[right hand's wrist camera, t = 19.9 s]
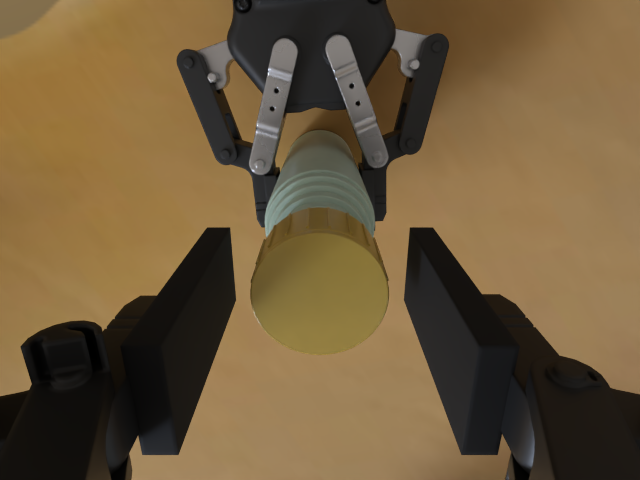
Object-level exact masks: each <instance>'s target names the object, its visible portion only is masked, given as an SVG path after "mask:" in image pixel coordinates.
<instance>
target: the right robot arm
mask: <svg viewBox="0 0 640 480" xmlns="http://www.w3.org/2000/svg"><path fill="white" fill-rule="evenodd" d="M235 301H236V294H235V282H234V270H233V258H232V245H231V233H230V228H207V229H206V230H205V231H204V233H203V234H202V235H201V237H200V238H199V239H198V241H197V242H196V243H195V245H194V246H193V248H192V249H191V250H190V252H189V253H188V254H187V256H186V257H185V258H184V260H183V261H182V263H181V264H180V265H179V267H178V268H177V269H176V271H175V272H174V273H173V275H172V276H171V277H170V279H169V280H168V282H167V283H166V284H165V286H164V287H163V288H162V290H161V291H160V292H159V294H158V295H157V296H139V297H138V298H136V299H134V300H133V301H131V302H130V303H128V304H126V305H125V306H124V307H123V308H122V309H121V310H120V312H119V313H118V314H117V315H116V316H115V319H113V320H112V321H111V322H110V323H109V325H108V326H107V329H104V331H103V332H102V328H101V327H100V326H99V325H98V324H96V323H94V322H89V321H70V322H65V323H61V324H57V325H54V326H51V327H49V328H46V329H43V330H41V331H39V332H38V333H36V334H34V335H33V336H31V337H30V338H28V339H27V340H26V341H25V342H24V343H23V345H22V346H21V350H22V353H23V356H24V360H25V363H26V366H27V369H28V373H29V376H30V379H31V383H32V385H31V387H30V390H28V391H24V392H19V393H15V394H10V395H5V396H0V480H131V477H132V466H131V460H130V455H129V452H130V450H131V448H132V446H133V444H134V442H135V440H136V438H137V436H139V441H140V446H141V450H142V455H179V452H180V449H181V447H182V444H183V441H184V438H185V436H186V433H187V430H188V428H189V425H190V422H191V420H192V417H193V414H194V412H195V409H196V406H197V403H198V401H199V398H200V395H201V393H202V390H203V387H204V385H205V382H206V379H207V377H208V374H209V371H210V369H211V366H212V363H213V360H214V358H215V355H216V352H217V350H218V347H219V344H220V342H221V339H222V336H223V334H224V331H225V328H226V326H227V323H228V320H229V317H230V315H231V312H232V309H233V307H234V304H235ZM404 301H405V304H406V307H407V309H408V312H409V315H410V317H411V320H412V323H413V325H414V328H415V331H416V334H417V336H418V339H419V342H420V344H421V347H422V350H423V352H424V355H425V358H426V360H427V363H428V366H429V369H430V371H431V374H432V377H433V379H434V382H435V385H436V387H437V390H438V393H439V395H440V398H441V401H442V403H443V406H444V409H445V412H446V414H447V417H448V420H449V422H450V425H451V428H452V430H453V433H454V436H455V438H456V441H457V444H458V447H459V449H460V452H461V455H498V450H499V446H500V441H501V436H502V434H503V436H504V438H505V440H506V442H507V444H508V446H509V448H510V450H511V455H510V460H509V464H508V469H507V473H506V478H505V480H640V394H635V393H630V392H625V391H620V390H616V389H612V388H610V387H609V385H608V383H607V382H606V380H605V379H604V378H603V376H602V375H601V374H600V373H598V372H597V371H595V370H594V369H593V368H591V367H590V366H588V365H586V364H584V363H581V362H579V361H577V360H574V359H571V358H567V357H563V356H559V355H558V353H557V352H556V351H555V350H554V349H553V347H552V346H551V345H550V344H549V343H548V342H547V340H546V339H545V338H544V337H543V336H542V335H541V333H540V332H539V331H538V330H537V329H536V327H533V324H532V323H531V322H530V320H529V319H528V318H525V315H524V313H523V312H522V311H521V310H520V309H519V307H518V306H517V305H516V304H515V303H513V302H511V301H510V300H508V299H506V298H505V297H503V296H501V295H500V294H481V292H480V291H479V290H478V288H477V287H476V286H475V284H474V283H473V282H472V280H471V279H470V277H469V276H468V275H467V273H466V272H465V271H464V269H463V268H462V267H461V265H460V264H459V263H458V261H457V260H456V258H455V257H454V256H453V254H452V253H451V252H450V250H449V249H448V248H447V246H446V245H445V243H444V242H443V241H442V239H441V238H440V237H439V235H438V234H437V233H436V231H435V230H434V228H410V233H409V246H408V258H407V270H406V282H405V294H404Z"/></svg>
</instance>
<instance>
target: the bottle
mask: <svg viewBox="0 0 640 480" xmlns="http://www.w3.org/2000/svg"><path fill="white" fill-rule="evenodd" d="M309 207H310V208H317V207H321V208H327V207H330V208H331V209H336V210H339V211H342V212H345V213H349V215H351V216H352V217H354V218H356V219H357V220H358V221H359V222H361V223H364V224H365V227H366V229H367V230H368V231H369V233H370V234H371V236H372V238H373V236H374V228H375V216H374V210H373V206H372V203H371V201H370V198H369V196H368V193H367V191H366V188H365V186H364V183H363V181H362V178H361V176H360V173H359V171H358V168H357V166H356V163H355V161H354V158H353V156H352V153H351V151H350V148H349V146H348V145H347V143H346V142H345V141H344V140H343V139H342V138H341V137H340V136H338V135H337V134H335V133H333V132H330V131H326V130H314V131H310V132H307V133H305V134H303V135H302V136H300V137H299V138H298V139H297V140H296V141H295V142H294V143H293V145H292V146H291V148H290V150H289V153H288V155H287V158H286V160H285V163H284V165H283V168H282V170H281V173H280V175H279V178H278V180H277V183H276V185H275V187H274V190H273V192H272V195H271V197H270V200H269V202H268V205H267V208H266V213H265V231H266V237H267V236H268V235H269V233H270V232H271V230H272V229H273V226H274V225H277V224H278V223H279V222H280V221H281V220H283V219H284V218H286V217H287V216H288V215H289V214H290V213H291V214H293V213H295V212H297V211H300V210H304V209H307V208H309Z"/></svg>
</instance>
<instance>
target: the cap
mask: <svg viewBox="0 0 640 480" xmlns="http://www.w3.org/2000/svg"><path fill="white" fill-rule="evenodd" d="M387 281H388V276H387V273H386V270H385V267H384V264H383V261H382V258H381V255H380V252H379V249H378V246H377V243H376V240H375V238H372V236H371V234H370V233H369V231H368V230H367V229H366V227H365V224H364V223H361V222H359V221H358V220H357V219H356V218H354V217H352V216H351V215H349V213H345V212H342V211H339V210H336V209H331V208H330V207H327V208H321V207H317V208H310V207H309V208H307V209H304V210H300V211H297V212H295V213H293V214H291V213H290V214H289V215H288V216H287V217H286V218H284V219H283V220H281V221H280V222H279V223H278V224H277V225H274V226H273V229H272V230H271V232H270V233H269V235H268V236H267V238H266V240H265V239H264V241H263V243H262V246H261V249H260V252H259V255H258V258H257V261H256V267H255V270H254V273H253V276H252V279H251V304H252V308H253V311H254V314H255V316H256V318H257V320H258V322H259V324H260V325H261V327H262V328H263V329H264V330H265V332H266V333H267V334H268V335H269V336H270V337H272V338H273V339H274V340H275V341H277V342H278V343H280V344H281V345H283V346H285V347H287V348H289V349H291V350H294V351H297V352H301V353H305V354H311V355H328V354H334V353H339V352H342V351H346V350H348V349H350V348H353V347H355V346H356V345H358V344H360V343H361V342H363V341H364V340H366V339H367V338H368V337H369V336H370V335H371V334H372V333H373V332H374V331H375V330H376V328H377V327H378V326H379V324H380V323H381V321H382V319H383V317H384V315H385V313H386V309H387V306H388V299H389V287H388V282H387Z"/></svg>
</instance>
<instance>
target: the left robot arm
mask: <svg viewBox="0 0 640 480" xmlns="http://www.w3.org/2000/svg"><path fill="white" fill-rule="evenodd" d="M448 48H449V42H448V40H447V38H446V37H445V36H444V35H443V34H439V33H436V34H431V35H422V34H417V33H413V32H408V31H404V30H399V29H396V28H395V24H394V21H393V19H392V17H391V15H390V13H389V11H388V8H387V4H386V0H233V19H232V23H231V26H230V29H229V31H228V35H227V40H226V41H223V42H220V43H217V44H215V45H212V46H209V47H206V48H204V49H201V50H198V51H195V50H190V49H185V50H182V51H181V52H180V53H179V54H178V56H177V65H178V68H179V70H180V73H181V75H182V78H183V80H184V83H185V85H186V87H187V90H188V92H189V95H190V97H191V100H192V102H193V104H194V107H195V109H196V112H197V114H198V117H199V119H200V121H201V124H202V126H203V129H204V131H205V134H206V136H207V138H208V141H209V143H210V146H211V148H212V151H213V153H214V155H215V158H216V160H217V161H218V162H219V163H221V164H223V165H230V164H231V165H235V166H238V167H242V168H244V169H246V170H247V171H248V172H249V173H250V174H251V176H252V180H253V188H254V197H255V205H256V213H257V220H258V222H259V224H260V225H261V227H265V213H266V208H267V205H268V202H269V200H270V197H271V195H272V192H273V190H274V187H275V185H276V183H277V180H278V178H279V175H280V167H276V165H275V158H276V154H277V150H278V146H279V142H280V138H281V133H282V130H283V127H284V123H285V119H286V115H287V113H296V112H303V111H305V110H308V109H311V108H314V107H317V108H322V109H327V110H344V109H346V112H347V114H348V117H349V120H350V122H351V124H352V127H353V129H354V132H355V135H356V137H357V140H358V143H359V145H360V148H361V150H362V163H358V164H359V173H360V176H361V178H362V181H363V183H364V186H365V188H366V191H367V193H368V196H369V198H370V201H371V203H372V206H373V210H374V216H375V221H383V219H384V217H385V214H386V170H387V167H388V165H389V163H390V162H391V161H392V160H394V159H396V158H398V157H401V156H403V155H405V154H408V155H412V154H415V153H416V152H418V151H419V150H420V148H421V146H422V142H423V139H424V135H425V131H426V128H427V124H428V121H429V117H430V113H431V110H432V106H433V103H434V99H435V95H436V92H437V88H438V85H439V81H440V77H441V74H442V70H443V67H444V63H445V60H446V56H447V52H448ZM390 50H392V51H394V52H395V53H396V55H397V57H398V70H399V72H400V74H401V75H403V76H405V77H407V79H406V83H405V87H404V91H403V95H402V99H401V103H400V107H399V111H398V115H397V119H396V123H395V127H394V131H392V132H390V133H387V134H385V135H383V136H382V135H381V132H380V129H379V127H378V124H377V119H376V116H375V113H374V110H373V108H372V105H371V102H370V99H369V96H368V94H367V91H366V87H367V86H368V84H369V82H370V81H371V79H372V78H373V76H374V75H375V73H376V71H377V70H378V68H379V67H380V65H381V64H382V62H383V60H384V59H385V57H386V56H387V54H388V53H389V51H390ZM234 60H235V61H236V62H237V63H238V64H239V66H240V67H241V68H242V69H243V71H244V72H245V73H246V74H247V75H248V77H249V78H250V79H251V80H252V81H253V83H254V84H255V85H256V86H257V88H258V89H259V90H260V91H261V92H262V94H263V97H262V101H261V106H260V110H259V115H258V119H257V124H256V133H255V138H254V142H253V143H250V142H247V141H243V140H242V138H241V136H240V133H239V130H238V128H237V125H236V123H235V120H234V117H233V115H232V112H231V109H230V107H229V104H228V102H227V99H226V96H225V94H224V91H223V89H224V88H225V87H227V86H228V84H229V82H230V74H229V67H230V64H231V63H232V62H233V61H234ZM374 231H375V228H374Z"/></svg>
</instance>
